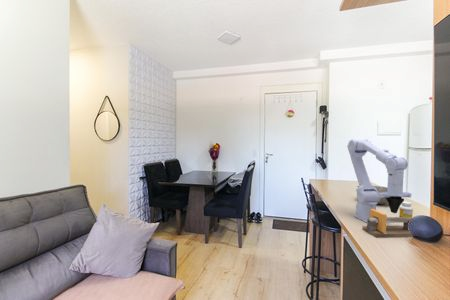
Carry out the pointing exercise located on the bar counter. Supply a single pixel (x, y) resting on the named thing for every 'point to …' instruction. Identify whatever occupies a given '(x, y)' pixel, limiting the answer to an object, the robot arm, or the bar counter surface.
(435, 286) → the bar counter surface
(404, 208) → the supplement bottle
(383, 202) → the ceramic bowl
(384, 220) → the collar
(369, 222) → the pipe stand
